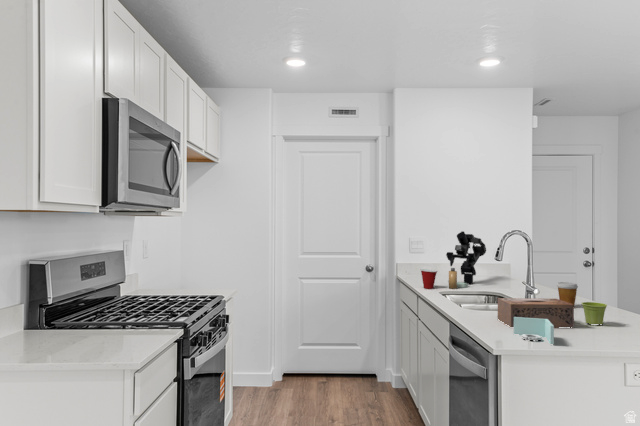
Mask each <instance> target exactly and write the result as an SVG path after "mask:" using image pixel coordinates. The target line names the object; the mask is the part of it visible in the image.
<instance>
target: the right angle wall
mask: <svg viewBox="0 0 640 426" xmlns="http://www.w3.org/2000/svg"><path fill="white" fill-rule="evenodd" d="M514 334H519V335H522V336H521V337H523V338H524V339H526V340H535V341H537V342H539V341H538V340H541V341H543V339H542V337H546V338H547V340H548V341H549V342H548V341H547V340H546V341H547V342H548V344H549V343H550V344H555V342H554V341H555V339H554V338H555V336H554V335H555V328H554V326H553V325H552V323H551V322H550V321H549V320H548V319H538V318H522V317H514V328H513V335H514ZM541 336H542V337H541ZM546 338H545V339H546ZM526 340H525V341H526ZM550 344H549V345H550Z"/></svg>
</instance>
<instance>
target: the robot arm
mask: <svg viewBox="0 0 640 426" xmlns="http://www.w3.org/2000/svg"><path fill="white" fill-rule="evenodd" d="M456 239H457V241H458V244H455V247H454V251H455V253H456V254H454V252H453V251H448V252H446V254H445V256H446V259H447V260H448V261H449V264H450V265H449V266H450V267H452V266H453V264H454V262H455V258H456V259H457V258H458V259H465V260H464V261H463V263H461V266H460V274H461V276H463V283H467V284H468V285H475V284H476V282H474V276H476V275H477V272H476V268H475V264H476V263H477V262H478V260H479V258H480V257H482V256H484V255H485V254H486V253H487V247H486V244H485V243H484V242H483V241H482V238H480V237H475V235H474V234H473V233H472V234H471V233H470V234H469V233H465V231H463V230H462V231H460V232H459V233H458V234H456ZM471 243H472V244H473V245H472V251H473V253H471V252H469V249H471ZM476 244H477V245H476Z"/></svg>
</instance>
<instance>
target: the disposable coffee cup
mask: <svg viewBox="0 0 640 426" xmlns="http://www.w3.org/2000/svg"><path fill="white" fill-rule="evenodd" d="M556 287H557V291H558V292H557V293H558V299H559V300H562V301H565V302H568V303H571V304H574V307H575V305H576V299H577V289H578V287H579V286H578V284H577V283H575V282H568V281H566V282H563V281H560V282H557V284H556Z"/></svg>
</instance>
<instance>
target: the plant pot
mask: <svg viewBox="0 0 640 426" xmlns="http://www.w3.org/2000/svg"><path fill="white" fill-rule="evenodd" d="M581 305H582V308H583V312H584V318H585V324H586V323H589V324H603V323H604V317H605V312H606V309H607V307H608V304H606V303H601V302H595V301H593V302H592V301H586V302H585V301H584V302H581ZM589 324H588V325H589Z"/></svg>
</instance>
